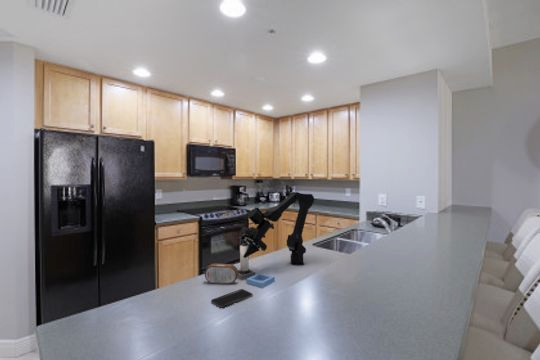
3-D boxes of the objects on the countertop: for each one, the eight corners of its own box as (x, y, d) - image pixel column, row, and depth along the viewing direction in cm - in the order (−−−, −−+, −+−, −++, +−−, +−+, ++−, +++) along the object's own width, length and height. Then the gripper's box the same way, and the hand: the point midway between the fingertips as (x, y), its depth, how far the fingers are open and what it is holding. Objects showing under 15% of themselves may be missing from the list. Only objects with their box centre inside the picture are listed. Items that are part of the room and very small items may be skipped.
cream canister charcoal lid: (249, 268, 126) (248, 242, 126) (248, 271, 122) (247, 244, 122) (241, 268, 126) (240, 242, 126) (239, 271, 122) (239, 244, 122)
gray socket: (247, 272, 129) (247, 268, 129) (255, 276, 123) (255, 272, 123) (234, 275, 125) (233, 271, 125) (241, 280, 119) (241, 275, 119)
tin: (238, 282, 116) (238, 263, 116) (237, 285, 113) (236, 265, 113) (206, 281, 118) (206, 262, 118) (203, 284, 115) (203, 265, 115)
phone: (209, 300, 97) (241, 288, 107) (209, 303, 97) (241, 291, 107) (221, 307, 91) (253, 294, 102) (221, 310, 91) (254, 297, 102)
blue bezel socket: (259, 277, 122) (259, 273, 122) (274, 281, 117) (274, 276, 117) (246, 283, 115) (246, 278, 115) (262, 288, 109) (262, 283, 109)
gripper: (241, 218, 134) (222, 242, 128) (261, 222, 119) (239, 250, 112) (255, 231, 138) (237, 255, 132) (275, 237, 123) (255, 265, 117)
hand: (241, 256), depth 123 cm, fingers closed on cream canister charcoal lid, 4 cm apart
